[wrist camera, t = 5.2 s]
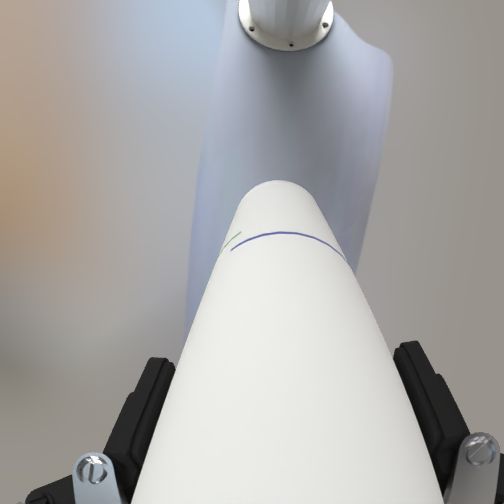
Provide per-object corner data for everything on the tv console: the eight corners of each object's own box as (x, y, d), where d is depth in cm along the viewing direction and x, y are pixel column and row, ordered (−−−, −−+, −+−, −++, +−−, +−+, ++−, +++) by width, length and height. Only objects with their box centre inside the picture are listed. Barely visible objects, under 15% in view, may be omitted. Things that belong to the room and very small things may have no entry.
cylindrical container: (333, 242, 26) (447, 570, 3) (257, 274, 28) (223, 601, 5) (300, 166, 24) (489, 547, 1) (220, 202, 26) (40, 543, 3)
